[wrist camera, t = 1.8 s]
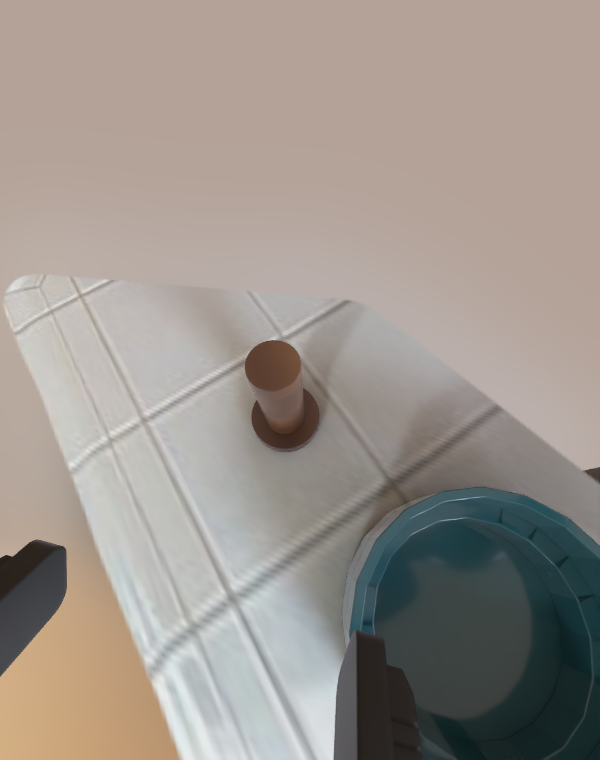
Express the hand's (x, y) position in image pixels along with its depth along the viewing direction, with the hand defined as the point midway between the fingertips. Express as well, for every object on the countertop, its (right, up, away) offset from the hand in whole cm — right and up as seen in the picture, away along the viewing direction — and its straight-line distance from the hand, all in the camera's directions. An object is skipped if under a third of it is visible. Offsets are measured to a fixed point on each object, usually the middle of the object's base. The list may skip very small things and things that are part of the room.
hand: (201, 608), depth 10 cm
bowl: (+13, -9, +14) cm, 21 cm away
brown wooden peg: (+2, +3, +20) cm, 20 cm away
